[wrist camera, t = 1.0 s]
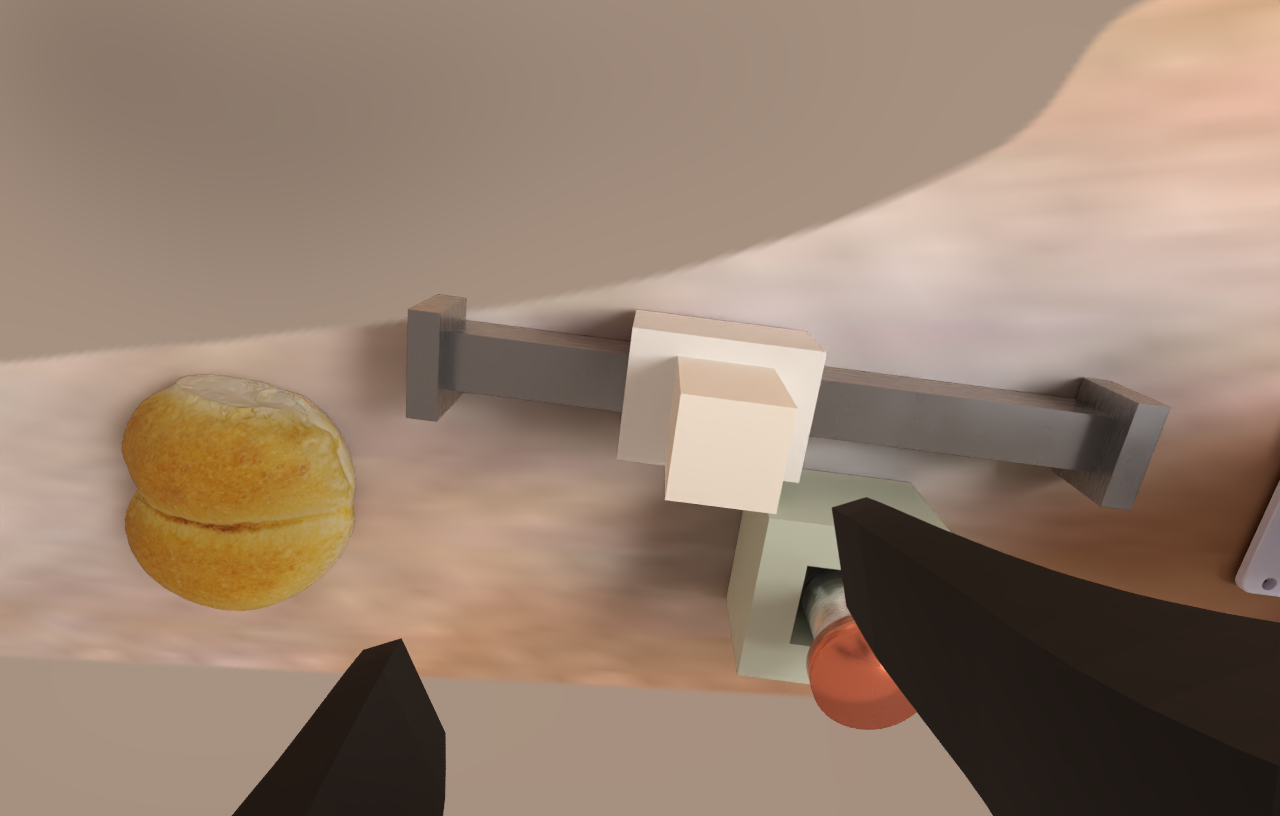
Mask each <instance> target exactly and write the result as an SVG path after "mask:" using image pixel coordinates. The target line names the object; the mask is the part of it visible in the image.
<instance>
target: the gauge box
mask: <svg viewBox="0 0 1280 816" xmlns="http://www.w3.org/2000/svg"><path fill="white" fill-rule="evenodd" d="M865 497H868V498H870V499H873V500H876V501H878V502H881V503H883V504H886V505H888V506H890V507H893V508H895V509H897V510H900V511H902V512H904V513H907V514H909V515H911V516H914V517H916V518H918V519H921V520H923V521H925V522H928V523H930V524H932V525H935V526H937V527H939V528H942V529H944V530H946V531H949V532H950V530H949V529H948V528H947V527H946V526H945V524H944V523H943V522H942V521H941V519H940V518H939V517H938V516H937V515H936V513H935V512H934V511H933V510H932V508H931V507H930V506H929V505H928V504H927V502H926V501H925V500H924V499H923V497H922V496H921V495H920V494H919V493H918V491H917V490H916V489H915V488H914V486H913V485H912V484H911V483H909V482H901V481H894V480H886V479H878V478H870V477H862V476H855V475H847V474H839V473H831V472H823V471H815V470H808V469H802V471H801V476H800V481H799V483H795V482H788V481H783V484H782V489H781V494H780V499H779V503H778V508H777V513H776V514H771V513H763V512H755V511H747V510H743V513H742V518H741V524H740V529H739V534H738V540H737V545H736V550H735V555H734V561H733V566H732V571H731V576H730V582H729V587H728V592H727V598H726V601H727V608H728V615H729V621H730V628H731V635H732V642H733V648H734V655H735V662H736V669H737V675H740V676H748V677H756V678H764V679H772V680H780V681H788V682H796V683H804V684H810V682H809V678H808V675H807V669H806V660H807V654H808V651H809V648H810V646H811V644H812V642H813V641H814V638H813V635H812V632H811V629H810V626H809V623H808V620H807V617H806V614H805V610H804V607H803V604H802V601H801V598H800V596H801V591H802V587H803V583H804V578H805V574H806V570H807V566H813V567H821V568H829V569H837V570H841V567H840V561H839V554H838V547H837V541H836V534H835V527H834V521H833V514H832V507H835V506H838V505H842V504H845V503H848V502H851V501H855V500H858V499H861V498H865Z"/></svg>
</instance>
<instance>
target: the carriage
mask: <svg viewBox="0 0 1280 816" xmlns="http://www.w3.org/2000/svg"><path fill="white" fill-rule="evenodd" d="M826 355H827V352H826V351H825V350H824V349H823V348H822V347H821V346H820V345H819V343H818V342H817V341H816V340H815V339H814V338H813V337H812V336H811V335H810V334H809V333H808V332H807V331H799V330H791V329H783V328H776V327H768V326H760V325H752V324H745V323H737V322H729V321H721V320H714V319H706V318H698V317H690V316H683V315H675V314H667V313H659V312H652V311H644V310H636V314H635V319H634V323H633V328H632V336H631V344H630V352H629V360H628V369H627V377H626V385H625V393H624V401H623V410H622V418H621V426H620V434H619V443H618V451H617V459H616V460H623V461H631V462H639V463H647V464H655V465H662V466H665V500H669V501H676V502H684V503H692V504H700V505H708V506H716V507H724V508H731V509H739V510H747V511H755V512H763V513H771V514H776V513H777V508H778V503H779V499H780V494H781V489H782V484H783V481H788V482H795V483H799V481H800V476H801V471H802V467H803V462H804V457H805V453H806V448H807V443H808V439H809V434H810V429H811V425H812V420H813V416H814V411H815V406H816V402H817V397H818V392H819V388H820V383H821V378H822V374H823V369H824V364H825V360H826Z"/></svg>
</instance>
